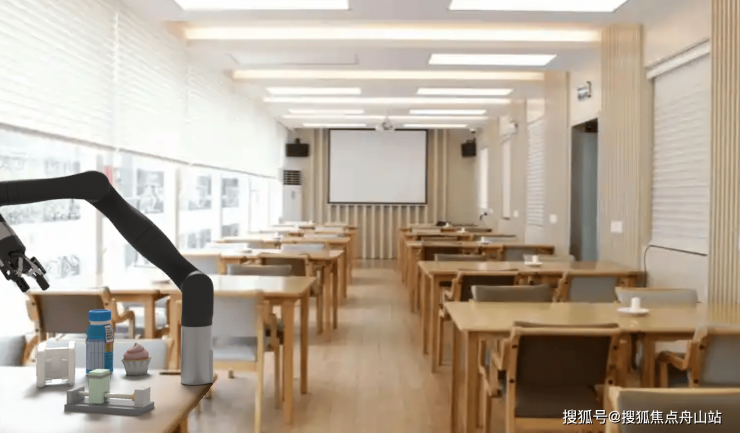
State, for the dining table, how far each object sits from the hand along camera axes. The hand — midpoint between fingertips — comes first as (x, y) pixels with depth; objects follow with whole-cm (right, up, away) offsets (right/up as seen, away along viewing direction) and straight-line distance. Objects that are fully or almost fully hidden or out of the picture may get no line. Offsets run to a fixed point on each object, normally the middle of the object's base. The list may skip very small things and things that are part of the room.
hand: (37, 289), depth 201 cm
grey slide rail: (+22, -30, -6) cm, 38 cm away
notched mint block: (+19, -29, -5) cm, 34 cm away
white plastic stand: (-4, -30, +22) cm, 38 cm away
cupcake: (+15, -30, +36) cm, 50 cm away
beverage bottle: (+4, -30, +36) cm, 47 cm away
